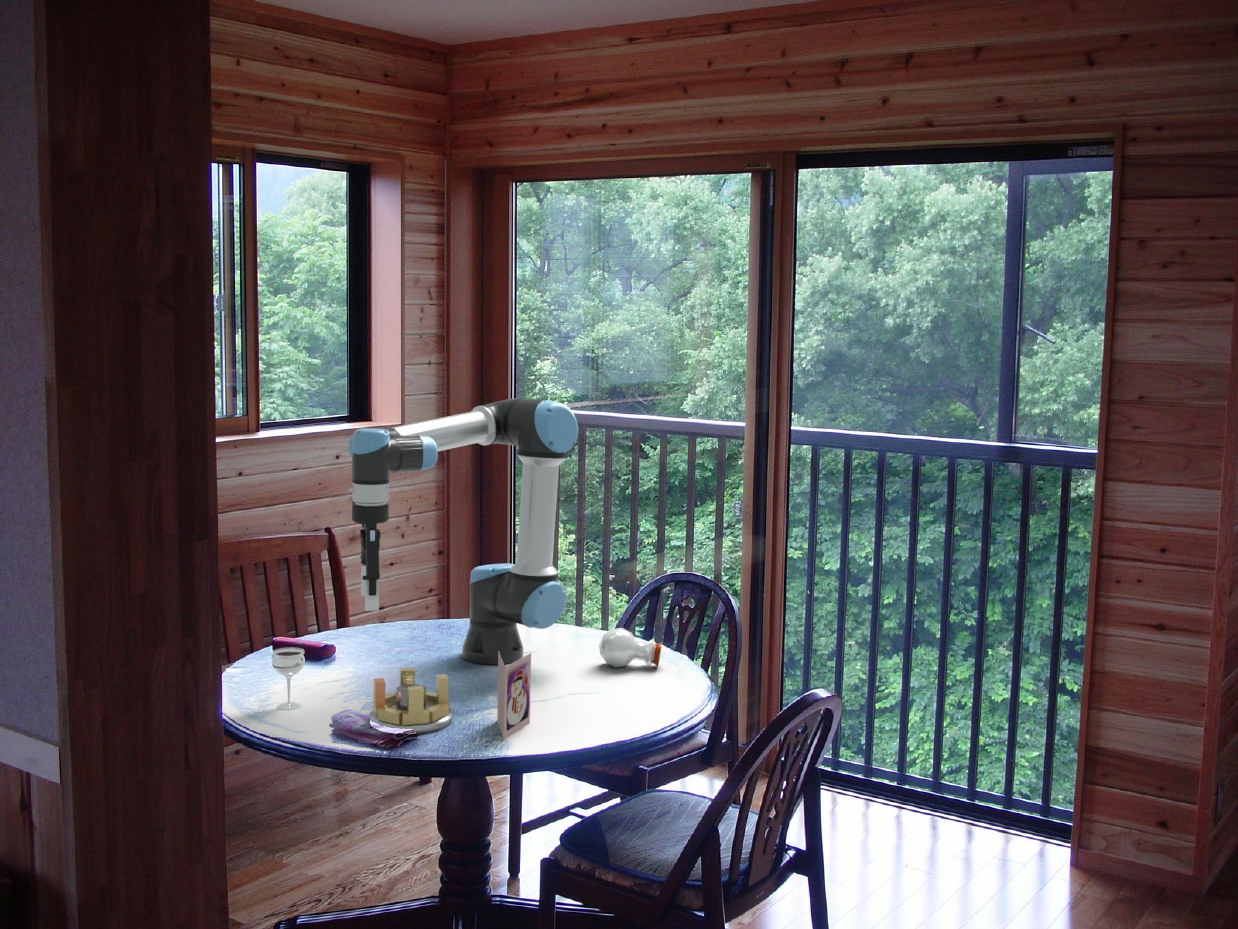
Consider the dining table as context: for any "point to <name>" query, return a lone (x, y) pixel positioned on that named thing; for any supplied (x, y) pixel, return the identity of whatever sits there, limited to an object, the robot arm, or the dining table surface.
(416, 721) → the gold crown
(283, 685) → the dining table surface
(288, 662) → the wineglass
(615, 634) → the potion bottle
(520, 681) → the greeting card
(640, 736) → the dining table surface
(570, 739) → the dining table surface
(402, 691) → the silver round piece
